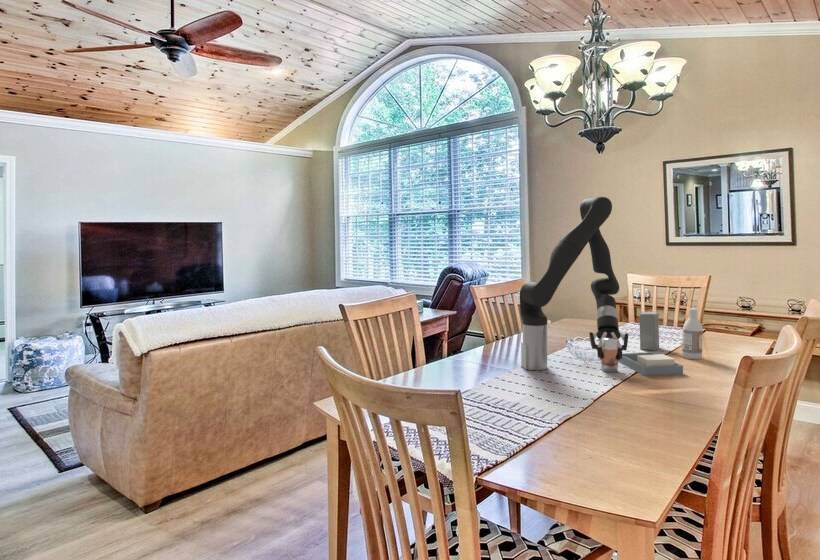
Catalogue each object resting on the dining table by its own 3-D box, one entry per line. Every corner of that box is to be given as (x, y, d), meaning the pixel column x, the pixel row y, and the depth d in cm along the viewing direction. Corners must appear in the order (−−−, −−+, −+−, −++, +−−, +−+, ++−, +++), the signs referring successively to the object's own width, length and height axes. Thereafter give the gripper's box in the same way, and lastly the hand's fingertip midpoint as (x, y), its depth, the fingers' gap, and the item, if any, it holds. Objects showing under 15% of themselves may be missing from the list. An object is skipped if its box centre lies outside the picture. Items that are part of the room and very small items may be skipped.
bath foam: (698, 360, 199) (700, 310, 197) (679, 357, 204) (681, 309, 202) (704, 357, 204) (705, 308, 202) (685, 354, 209) (687, 306, 207)
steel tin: (605, 375, 182) (605, 340, 181) (598, 371, 188) (598, 337, 187) (620, 375, 183) (621, 339, 182) (613, 370, 188) (613, 336, 187)
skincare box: (655, 351, 216) (656, 314, 214) (637, 349, 220) (638, 313, 219) (659, 347, 223) (660, 311, 221) (642, 345, 227) (643, 310, 225)
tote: (644, 378, 178) (644, 367, 178) (617, 363, 198) (617, 353, 198) (682, 376, 179) (683, 365, 179) (652, 362, 199) (652, 352, 198)
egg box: (647, 373, 180) (647, 360, 180) (637, 368, 187) (637, 355, 187) (674, 372, 181) (674, 358, 180) (663, 367, 188) (663, 354, 187)
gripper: (587, 314, 193) (589, 352, 182) (628, 314, 189) (632, 354, 178) (587, 325, 198) (588, 362, 188) (626, 326, 194) (630, 364, 184)
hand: (610, 358), depth 183 cm, fingers closed on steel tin, 5 cm apart
